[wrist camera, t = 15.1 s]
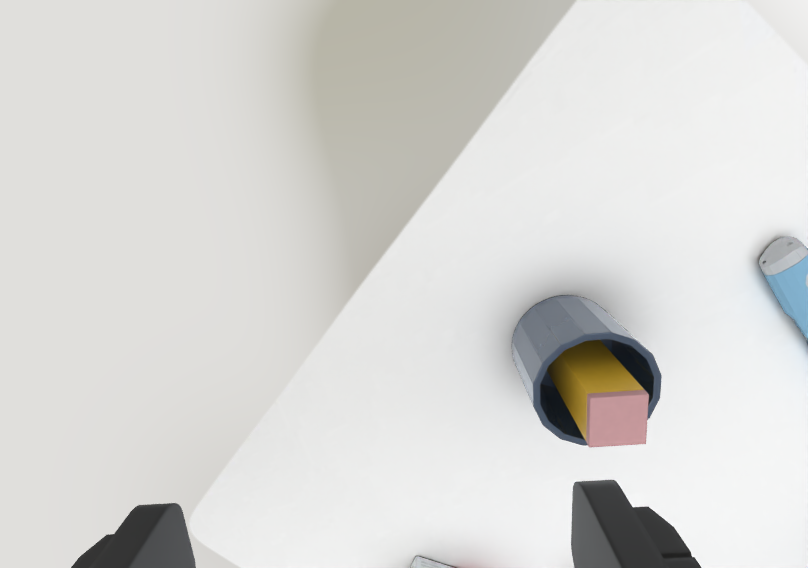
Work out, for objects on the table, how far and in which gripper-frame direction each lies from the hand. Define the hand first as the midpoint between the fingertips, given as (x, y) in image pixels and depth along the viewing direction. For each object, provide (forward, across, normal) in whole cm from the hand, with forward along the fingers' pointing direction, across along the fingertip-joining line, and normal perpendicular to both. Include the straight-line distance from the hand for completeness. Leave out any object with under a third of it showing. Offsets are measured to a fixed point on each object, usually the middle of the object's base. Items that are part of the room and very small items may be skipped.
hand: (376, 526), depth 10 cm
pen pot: (+30, -13, +10) cm, 34 cm away
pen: (+29, -34, +10) cm, 46 cm away
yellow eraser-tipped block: (+29, -13, +10) cm, 33 cm away
